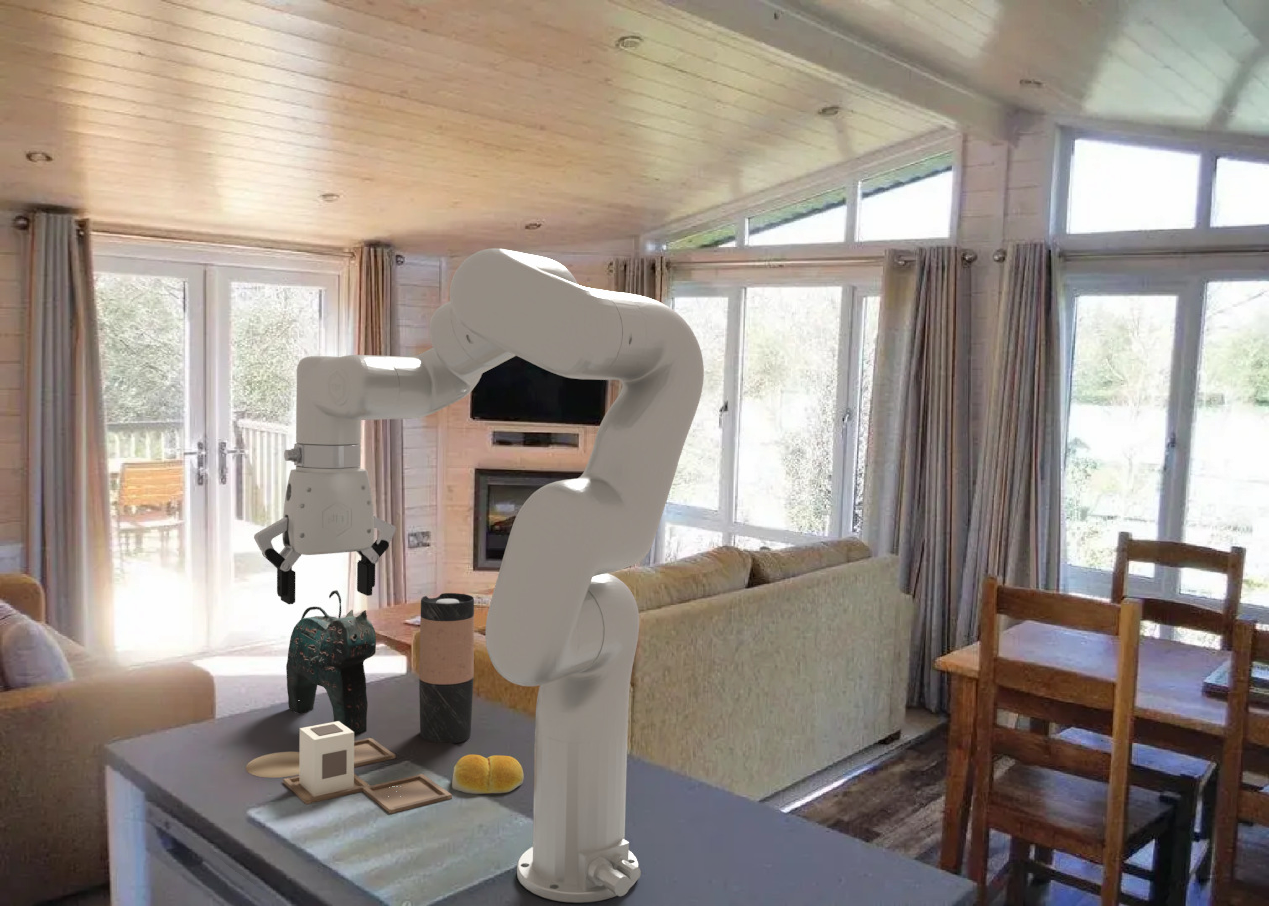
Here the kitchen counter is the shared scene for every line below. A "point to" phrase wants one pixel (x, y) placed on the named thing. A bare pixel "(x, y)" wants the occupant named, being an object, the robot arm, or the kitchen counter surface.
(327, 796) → the tray
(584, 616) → the robot arm
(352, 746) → the white box with panels
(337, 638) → the ceramic cat
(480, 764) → the bread roll
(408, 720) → the kitchen counter surface
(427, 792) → the tray
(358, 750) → the tray
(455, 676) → the travel mug
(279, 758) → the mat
